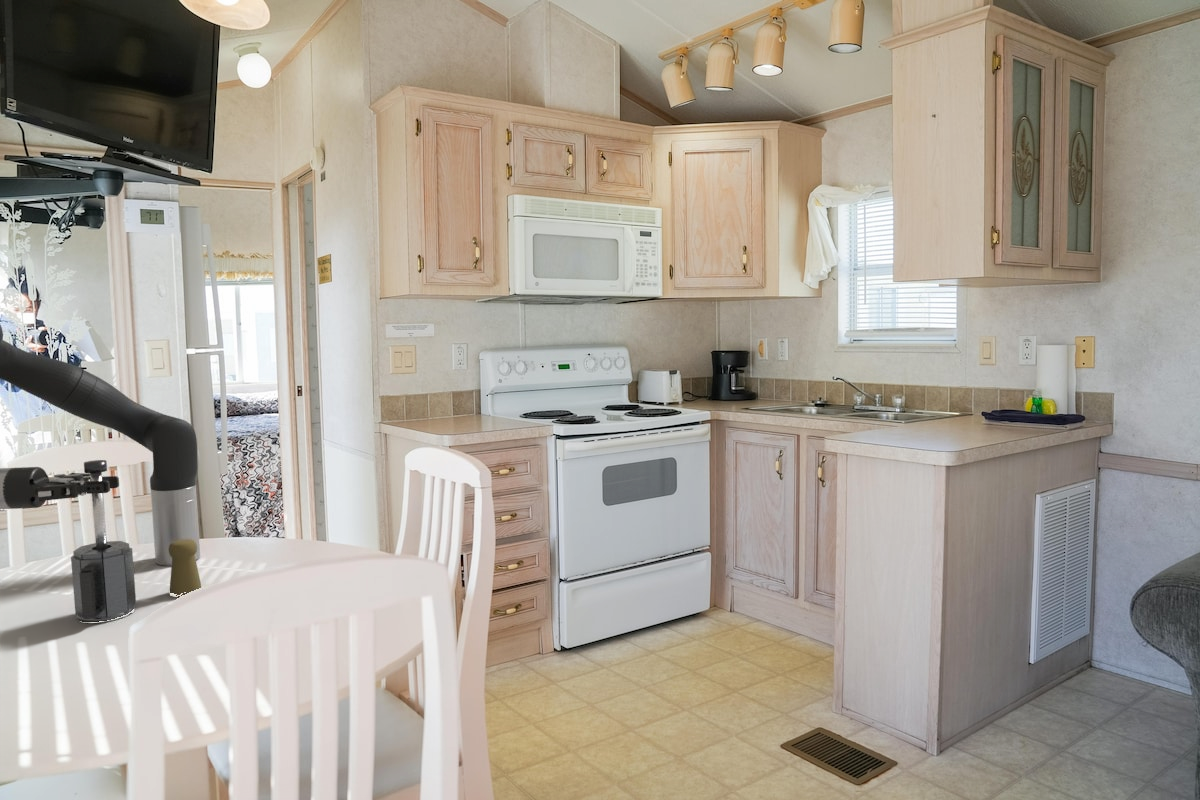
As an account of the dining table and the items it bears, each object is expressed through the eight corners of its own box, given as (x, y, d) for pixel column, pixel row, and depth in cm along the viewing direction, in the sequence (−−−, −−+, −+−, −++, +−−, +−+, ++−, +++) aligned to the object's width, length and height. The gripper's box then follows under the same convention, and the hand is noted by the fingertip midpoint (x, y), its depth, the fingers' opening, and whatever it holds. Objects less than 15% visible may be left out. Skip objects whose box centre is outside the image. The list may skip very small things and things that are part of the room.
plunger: (92, 567, 157) (84, 459, 155) (128, 565, 158) (120, 458, 156) (77, 577, 151) (68, 465, 149) (114, 575, 152) (106, 464, 150)
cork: (188, 598, 164) (185, 545, 162) (162, 596, 165) (158, 543, 164) (208, 588, 170) (205, 536, 168) (183, 586, 171) (179, 535, 170)
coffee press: (90, 607, 159) (85, 541, 158) (142, 603, 161) (138, 539, 160) (60, 631, 147) (55, 560, 146) (117, 627, 149) (112, 557, 148)
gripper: (-12, 475, 143) (95, 471, 146) (30, 461, 157) (127, 457, 160) (-8, 517, 144) (98, 513, 147) (33, 499, 158) (130, 495, 161)
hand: (113, 484), depth 153 cm, fingers open, 3 cm apart
